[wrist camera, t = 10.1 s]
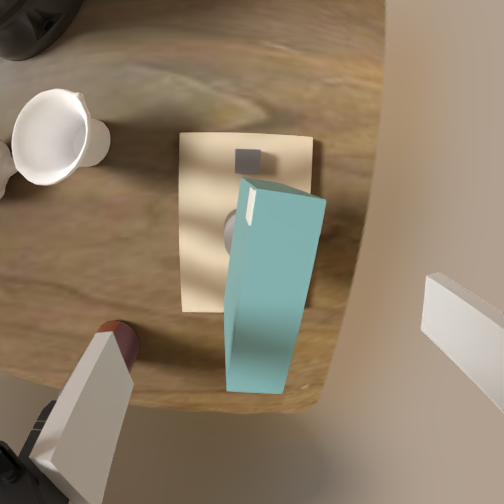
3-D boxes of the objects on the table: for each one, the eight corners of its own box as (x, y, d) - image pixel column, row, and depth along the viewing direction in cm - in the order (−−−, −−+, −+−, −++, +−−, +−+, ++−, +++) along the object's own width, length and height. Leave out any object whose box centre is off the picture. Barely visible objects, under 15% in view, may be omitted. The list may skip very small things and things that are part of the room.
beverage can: (144, 326, 38) (112, 405, 23) (137, 362, 39) (110, 442, 25) (101, 312, 37) (53, 383, 22) (97, 348, 38) (56, 422, 24)
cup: (141, 136, 32) (110, 127, 22) (86, 194, 33) (43, 207, 23) (95, 86, 29) (56, 65, 20) (44, 144, 30) (-4, 143, 21)
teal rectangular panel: (222, 296, 29) (224, 390, 16) (239, 176, 26) (254, 188, 14) (258, 300, 30) (284, 393, 17) (278, 182, 27) (328, 200, 14)
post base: (181, 134, 32) (170, 126, 25) (309, 138, 33) (331, 132, 26) (183, 306, 37) (176, 338, 30) (298, 305, 39) (314, 336, 32)
